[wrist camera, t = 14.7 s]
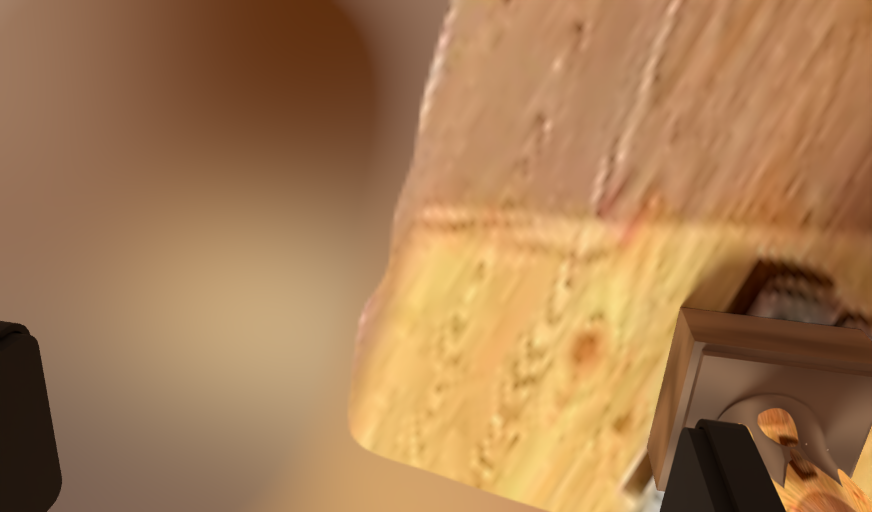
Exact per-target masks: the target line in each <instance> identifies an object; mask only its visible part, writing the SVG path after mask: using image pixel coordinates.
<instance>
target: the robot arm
mask: <svg viewBox="0 0 872 512" xmlns="http://www.w3.org/2000/svg"><path fill="white" fill-rule="evenodd" d="M61 485H62V476H61V470H60V464H59V458H58V453H57V447H56V441H55V436H54V430H53V425H52V419H51V414H50V407H49V401H48V396H47V390H46V384H45V378H44V373H43V367H42V361H41V356H40V350H39V345H38V342H37V340H36V339H35V337H33V336H31V335H30V333H29V331H28V329H27V328H26V327H25V326H24V325H21V324H18V323H11V322H4V321H0V512H47V511H48V510H49V508H50V507H51V506H52V505H53V504H54V502H55V501H56V499H57V497H58V495H59V493H60V490H61ZM660 512H786V510H785V508H784V505H783V503H782V501H781V499H780V497H779V495H778V492H777V490H776V488H775V486H774V484H773V481H772V479H771V477H770V475H769V473H768V471H767V468H766V466H765V464H764V462H763V460H762V458H761V455H760V453H759V451H758V449H757V447H756V444H755V442H754V440H753V438H752V436H751V434H750V431H749V430H748V428H747V427H746V426H745V425H743V424H738V423H731V422H723V421H716V420H709V419H700V420H698V422H697V424H696V426H695V428H688V427H684V428H683V429H682V431H681V433H680V436H679V440H678V443H677V447H676V451H675V455H674V459H673V463H672V466H671V470H670V474H669V478H668V482H667V486H666V490H665V493H664V497H663V501H662V505H661V509H660Z"/></svg>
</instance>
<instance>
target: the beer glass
mask: <svg viewBox="0 0 872 512" xmlns="http://www.w3.org/2000/svg"><path fill="white" fill-rule="evenodd" d="M717 421H723V422H731V423H738V424H743V425H745V426H746V427H747V428H748V430H749V431H750V434H751V436H752V438H753V440H754V442H755V444H756V447H757V449H758V451H759V453H760V455H761V458H762V460H763V462H764V464H765V466H766V468H767V471H768V473H769V475H770V477H771V479H772V481H773V484H774V486H775V488H776V490H777V492H778V495H779V497H780V499H781V501H782V503H783V505H784V508H785V510H786V512H872V500H871V499H870V498H869V497H868V496H867V495H866V494H865V493H864V492H863V491H862V490H861V489H860V488H859V487H858V486H857V485H856V484H855V483H854V482H853V481H852V480H851V479H850V478H849V477H848V476H847V475H846V473H845V472H844V471H843V470H842V469H841V468H840V467H839V466H838V465H837V463H836V462H835V460H834V459H833V458H832V456H831V454H830V452H829V450H828V447H827V444H826V440H825V437H824V433H823V430H822V427H821V424H820V422H819V420H818V418H817V417H816V415H815V414H814V412H813V411H812V410H811V409H810V408H809V407H807V406H806V405H805V404H803V403H802V402H800V401H798V400H796V399H794V398H791V397H788V396H784V395H779V394H762V395H756V396H751V397H748V398H745V399H743V400H740V401H738V402H737V403H735V404H733V405H732V406H730V407H729V408H728V409H727V410H726V411H724V412H723V414H722V415H721V416H720V417H719V419H718V420H717Z"/></svg>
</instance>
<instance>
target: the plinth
mask: <svg viewBox="0 0 872 512" xmlns="http://www.w3.org/2000/svg"><path fill="white" fill-rule="evenodd" d="M762 394H779V395H784V396H788V397H791V398H794V399H796V400H798V401H800V402H802V403H803V404H805V405H806V406H807V407H809V408H810V409H811V410H812V411H813V412H814V414H815V415H816V417H817V418H818V420H819V422H820V424H821V427H822V430H823V433H824V437H825V440H826V444H827V447H828V450H829V452H830V454H831V456H832V458H833V459H834V460H835V462H836V463H837V465H838V466H839V467H840V468H841V469H842V470H843V471H844V472H845V473H846V475H847V476H848V477H849V478H850V479H851V477H852V475H853V472H854V470H855V467H856V464H857V462H858V459H859V457H860V454H861V452H862V449H863V447H864V444H865V441H866V439H867V436H868V434H869V431H870V429H871V426H872V341H871V340H870V339H869V338H868V337H867V336H866V335H865V333H864V332H863V331H862V330H859V329H851V328H843V327H835V326H827V325H819V324H811V323H803V322H795V321H787V320H779V319H771V318H763V317H755V316H747V315H739V314H731V313H723V312H715V311H707V310H699V309H691V308H683V307H680V311H679V315H678V320H677V324H676V328H675V332H674V336H673V340H672V345H671V349H670V353H669V357H668V361H667V366H666V370H665V374H664V378H663V382H662V386H661V391H660V395H659V399H658V403H657V407H656V411H655V416H654V420H653V424H652V428H651V432H650V437H649V441H648V445H647V449H648V453H649V458H650V462H651V466H652V471H653V475H654V479H655V484H656V488H657V490H658V491H665V490H666V486H667V482H668V478H669V474H670V470H671V466H672V463H673V459H674V455H675V451H676V447H677V443H678V440H679V436H680V433H681V431H682V429H683V428H684V427H688V428H695V426H696V424H697V422H698V420H700V419H709V420H716V421H717V420H718V419H719V417H720V416H721V415H722V414H723V412H724V411H726V410H727V409H728V408H729V407H730V406H732V405H733V404H735V403H737V402H738V401H740V400H743V399H745V398H748V397H751V396H756V395H762Z"/></svg>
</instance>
